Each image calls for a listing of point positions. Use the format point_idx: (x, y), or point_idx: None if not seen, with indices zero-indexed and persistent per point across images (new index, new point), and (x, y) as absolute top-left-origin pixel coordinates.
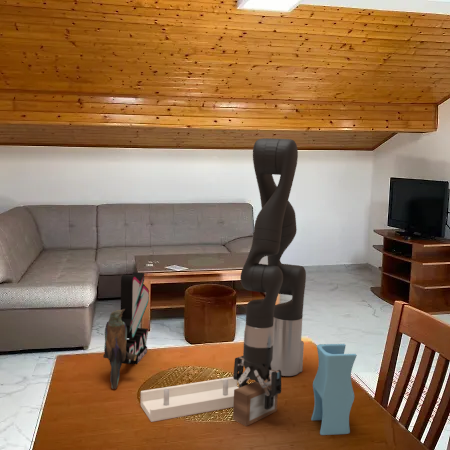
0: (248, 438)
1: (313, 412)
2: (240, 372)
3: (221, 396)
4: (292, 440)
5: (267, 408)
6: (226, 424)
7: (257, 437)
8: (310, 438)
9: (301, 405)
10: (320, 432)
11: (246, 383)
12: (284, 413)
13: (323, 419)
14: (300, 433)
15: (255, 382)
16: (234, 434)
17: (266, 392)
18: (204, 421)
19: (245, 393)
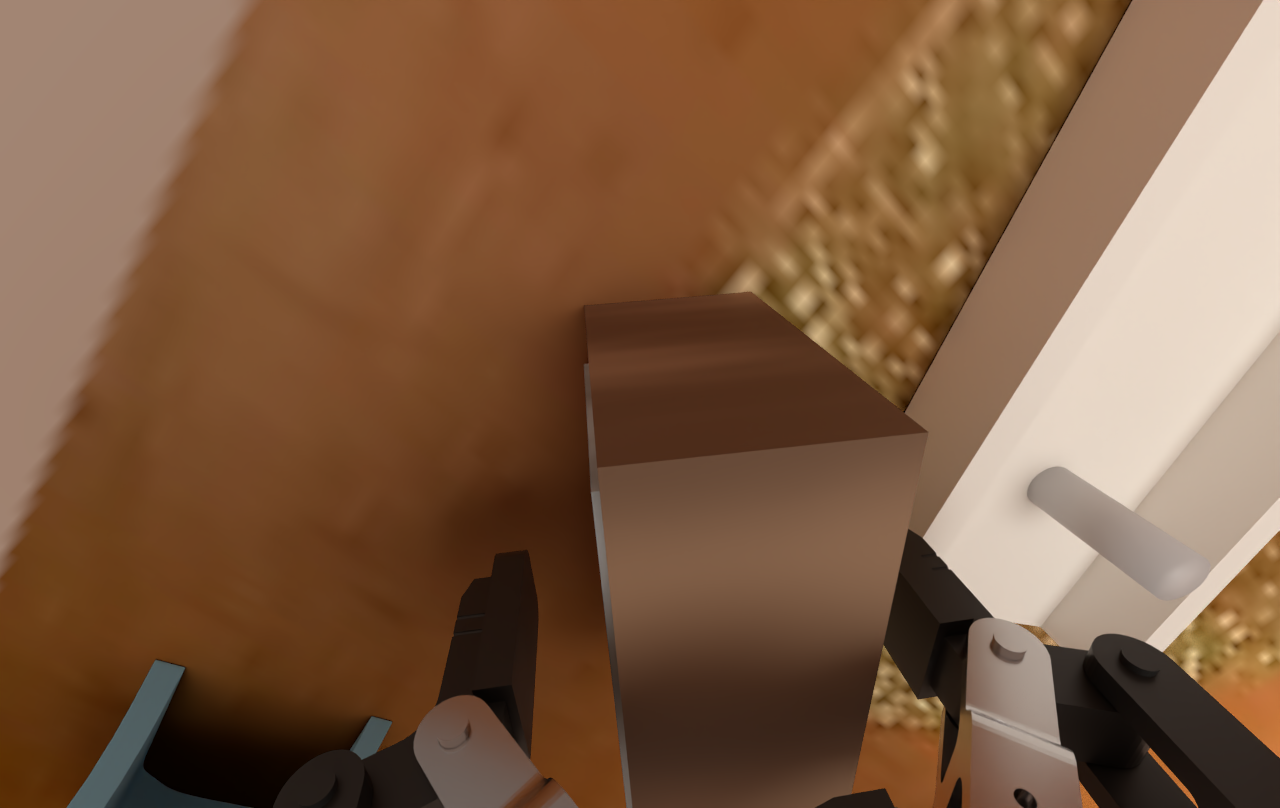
0: (371, 153)
1: None
2: (1137, 789)
3: (1049, 396)
4: (158, 461)
5: (497, 568)
6: (728, 171)
7: (346, 246)
8: (136, 582)
9: (577, 768)
10: (168, 675)
11: (923, 684)
12: (560, 650)
13: (74, 797)
14: (243, 572)
15: (833, 768)
16: (521, 85)
17: (475, 737)
18: (936, 8)
19: (686, 496)
